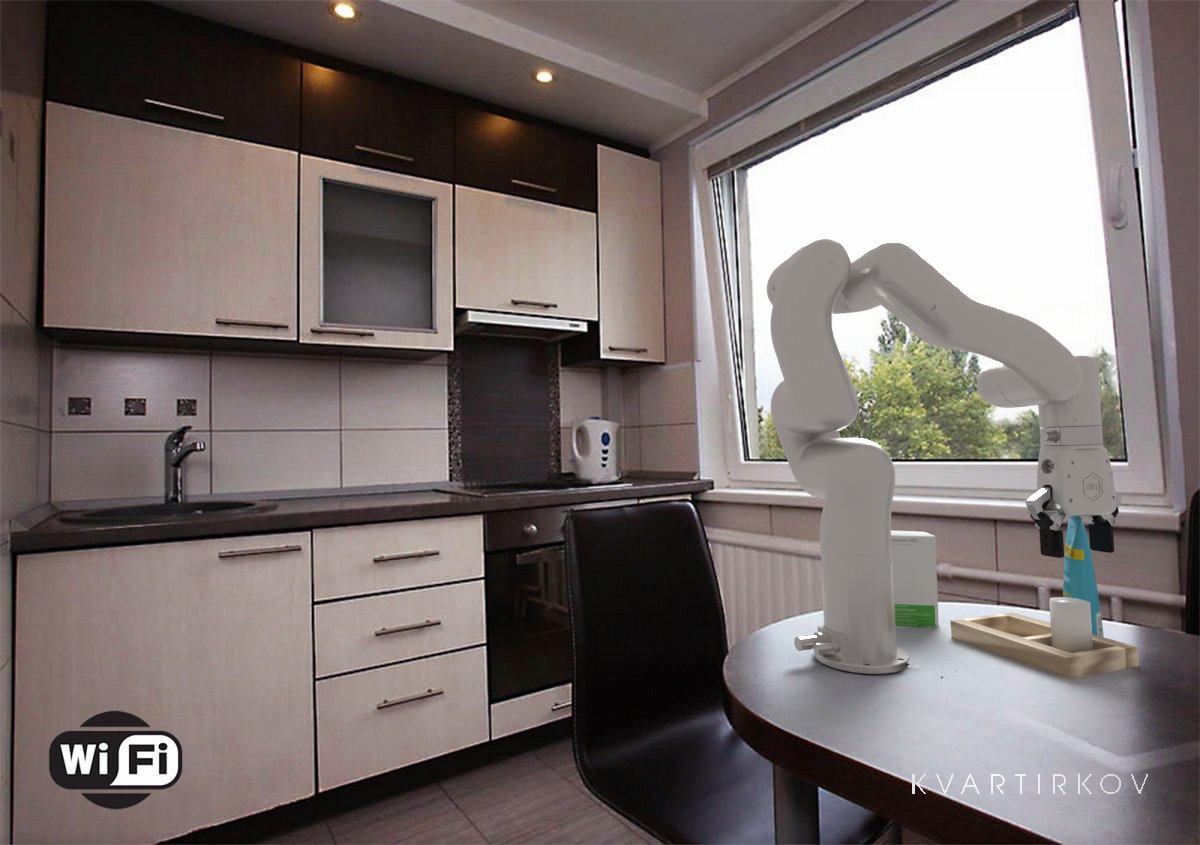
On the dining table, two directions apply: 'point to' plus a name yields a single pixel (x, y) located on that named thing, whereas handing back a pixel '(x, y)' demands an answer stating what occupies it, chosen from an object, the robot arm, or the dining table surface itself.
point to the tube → (1081, 571)
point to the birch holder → (1042, 645)
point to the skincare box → (914, 579)
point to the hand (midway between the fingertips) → (1077, 553)
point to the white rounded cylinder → (1071, 624)
